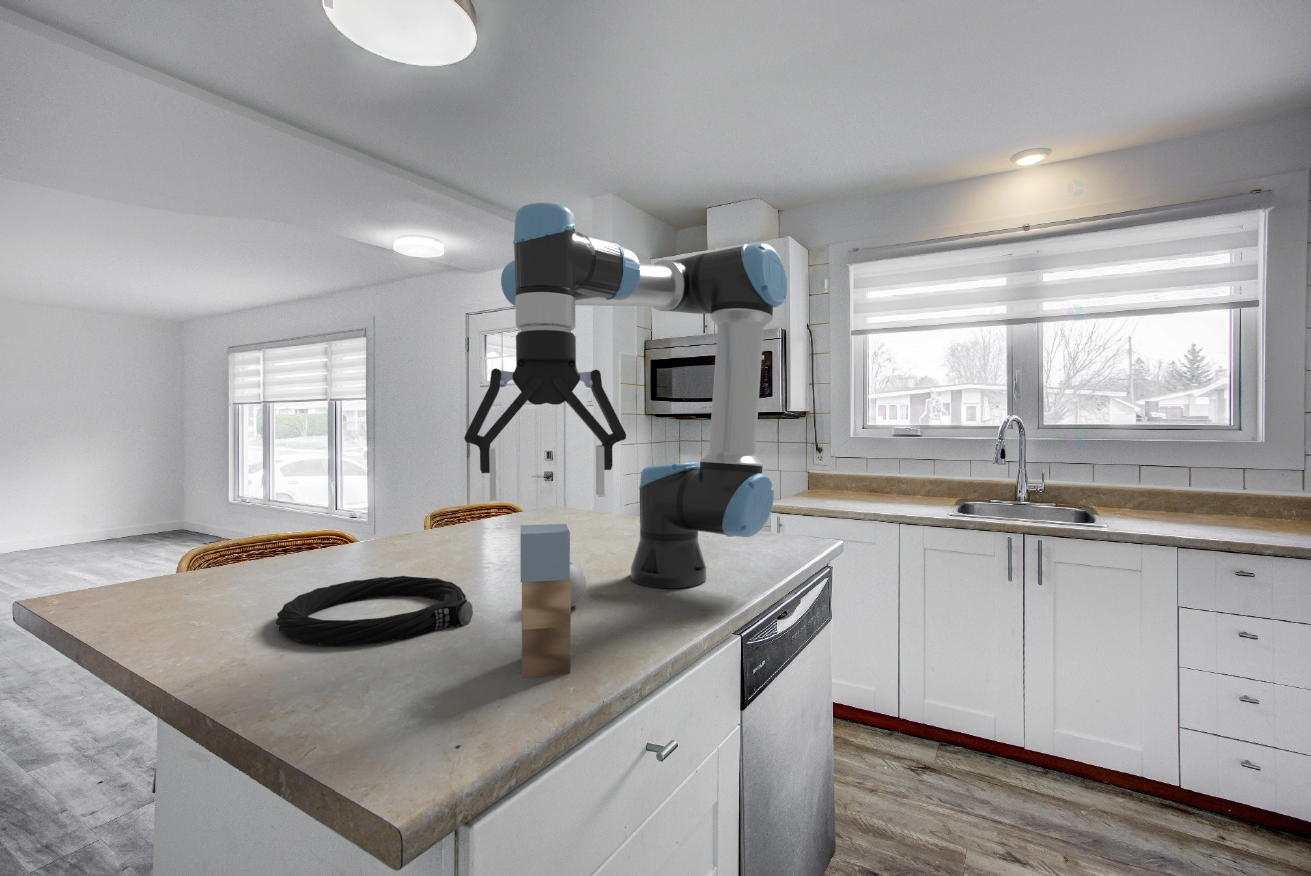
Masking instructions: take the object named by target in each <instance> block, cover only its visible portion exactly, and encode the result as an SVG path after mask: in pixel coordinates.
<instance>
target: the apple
mask: <svg viewBox="0 0 1311 876" xmlns="http://www.w3.org/2000/svg"><path fill="white" fill-rule="evenodd" d="M570 578H571V608H572V607H574V606H575V605H576V604H577V603H579V601H580V600H581V599H582V598H583V596H584V595H585V593H586V589H587V579H586V576H585V575H584V573H583V570H582V569H581V567H579V565H577V564H576V563H573V562H572V561H570Z"/></svg>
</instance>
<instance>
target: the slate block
mask: <svg viewBox="0 0 1311 876" xmlns="http://www.w3.org/2000/svg"><path fill="white" fill-rule="evenodd" d="M570 537H571V533H570V530H569V527H568V525H567V523H553V524H552V523H551V524H549V523H548V524H524V525H523V524H521V525H520V583H522V582H537V581H556V580H570V562H571V561H570V559H571V558H570V557H571V556H570V555H571V554H570V553H571V550H570V549H571V542H570V540H571V538H570Z"/></svg>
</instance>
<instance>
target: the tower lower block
mask: <svg viewBox="0 0 1311 876" xmlns="http://www.w3.org/2000/svg"><path fill="white" fill-rule="evenodd" d="M571 627H572V626H569V627H554V628H540V629H525V630H522V629H521V678H528V677H529V678H530V677H541V676H554V675H566V674H568V675H569V674H571V670H572V669H571V664H572V662H571V660H572V659H571V657H572V655H571V653H572V652H571V651H572V650H571V649H572V648H571V646H572V644H571V641H572V638H571V637H572V635H571V634H572V633H571V631H572V629H571Z"/></svg>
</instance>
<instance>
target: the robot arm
mask: <svg viewBox="0 0 1311 876" xmlns="http://www.w3.org/2000/svg"><path fill="white" fill-rule="evenodd" d="M514 219H515V220H514V230H513V231H514V232H513V234H514V235H513V242H512V243H513V251H514V252H513V253H514V260H512V261H510V262H509V263H507V264H506V265H505V266H504V268H503V270H502V271H501V277H500V285H501V289H502V290H501V291H502V293H503V295H504V297H505V299H506V300H507V301H508V302H509V303H510V304H511V305H513V306H515V327H516V328H517V329H518V330H520V331H519V332H517V334H515V354H516V355H515V359H516V360H515V361H516V365H515V369H514V371H508V370H507V371H506V370H500V369H499V368H493V369H492V370H491V372H490V380H489V387H488V389H487V390H486V393H485V395H484V396H483V398H482V400H481V403H480V404H479V407H478V409H477V411H476V412H475V415H474V416H473V419H472V421H471V423H470V424H469V427H468V429H467V431H466V433H465V434H464V438H463V439H464V441H465V442H466V443H469V444H471V445H474V446H477V447H478V450H479V470H480V472H481V474H489V501H497V498H498V482H497V481H498V476H497V475H498V474H497V473H498V472H497V471H498V469H497V446H491V444H492V442H494V441H495V439H496V438H497V437H498V435H499V434H500V433H501V432H502V431H503V429H504V428H506V427H507V426H508V424H509V423H510V422H511V420H512V419H513V418H514V417H515V416H516V414H517V413H519V411H520V410H521V409H522V407H523V406H524V405H525V404H526V403H527V401H528V402H529V403H531V404H532V405H538V406H539V405H540V406H541V405H544V404H550V405H554V406H556V405H562V404H563V403H565V402H566V403H567V404H568V406H569V407H570V408H571V409H572V410H573V411H574V413H576V415H577V416H578V417H579V418H580V420H582V422H583V423H584V424H585V425H586V427H587V428H589V429H590V431H591V432H592V433H593V435H595V436H596V438H597V439H598V440H599V441H600V442H601V444H599V445H597V444H596V445H595V494H596V496H598V497H600V498H601V497H604V498H605V491H606V490H605V471H611V470H612V468H613V446H614V445H615V444H616V443H619V442H621V441H622V442H623V441H625V440H626V438H627V434H626V431H625V429H624V427H623V425H622V423H621V422H620V419H619V418H618V415H617V413H616V412H615V410H614V407H613V405H612V404H611V402H610V399H609V397H608V395H607V394H606V393H607V392H606V391H605V389H604V387H603V381H602V373H601V372H600V370H599V369H593V370H591V371H583V372H579V370H578V368H577V356H576V355H577V353H576V352H577V350H576V347H577V342H576V341H577V337H576V335H575V334H574V333H572V332H571V331H574V330H575V329H576V326H577V325H576V322H577V321H576V306H589V307H590V306H594V307H595V306H599V307H600V306H602V307H603V306H618V307H620V306H623V307H624V306H625V307H630V306H631V307H633V306H636V307H639V306H641V307H646V306H647V307H652V308H653V309H655V310H657V311H659V312H675V313H676V312H677V313H685V314H696V315H697V314H698V315H708V314H709V315H710V316H709V317H710V319H711V320H712V321H713V322H714V324H715V325H716V326H717V328H716V329H717V332H716V344H715V345H716V347H715V360H714V374H713V387H712V388H713V389H712V390H713V391H712V401H711V402H712V403H711V417H710V418H711V419H710V429H709V430H710V431H709V443H708V444H709V445H708V446H709V447H708V451H707V454H705V455H704V456H703V457H702V458H701V459H700V460H699V463H698V462H697V461H693V462H683V463H682V462H680V463H672V464H662V465H660V464H659V465H651V466H646V467H644V468H643V469H642V471H641V472H640V473H641V474H640V483H639V488H638V489H639V542H638V544H637V548H636V550H635V554H634V557H633V561H632V563H631V566H630V580H632V581H633V582H634V583H636V584H639V585H642V586H646V587H651V588H659V589H680V588H681V589H682V588H687V587H688V588H689V587H694V586H699V585H701V584H704V583H705V582H706V580H707V566H706V562H705V560H704V556H703V553H702V550H701V546H700V543H699V532H702V533H709V534H716V535H723V536H726V537H728V538H732V537H734V538H735V537H737V538H738V537H739V538H740V537H741V538H750V537H753V536H756V535H757V534H758V533H760V531H762V529H763V528H764V526H765V525H766V524H767V522H768V520H769V518H770V515H771V512H772V509H773V504H774V497H775V496H774V488H773V482H772V480H771V478H769V477H768V476H767V475H766V474H764V473H763V464H762V462H761V461H760V460H759V459H758V457H757V455H756V446H757V431H758V420H759V419H758V415H759V402H760V401H759V400H760V387H761V372H762V358H763V355H762V354H763V344H764V343H763V342H764V341H763V340H764V329H765V328H766V326H767V325H769V324H770V323H771V322H772V321H773V314H774V308H777V307H779V306H781V305H782V304H783V303H784V302H785V299H786V297H787V293H788V282H787V281H788V280H787V275H786V274H787V273H786V270H785V268H784V267H785V266H784V264H783V262H782V259H781V257H780V255H779V254H778V252H777V251H776V250H775V249H774V248H773V247H772V246H770V245H769V244H767V243H762V242H761V243H753V244H749V243H747V244H745V243H744V245H742V246H737V247H731V248H726V249H721V250H717V251H715V250H714V251H709V252H704V253H700V254H699V253H698V254H696V255H692V256H688V257H682V258H679V259H673V260H671V259H668V260H667V259H661V260H658V261H656V262H654V263H653V264H652V263H640V261H639V258H638V257H637V255H636V253H634V252H633V251H632V250H630V249H628V248H626V247H623V246H620V245H619V244H618V243H615V242H608V241H606V240H602V239H599V238H595V237H591V236H589V235H585V234H583V233H580V232H577V231H576V228H577V225H576V223H575V222H576V221H575V215H574V213H573V212H572V210H570V209H569V208H568V207H567V206H565V205H562V204H557V203H551V202H535V203H534V202H533V203H532V202H531V203H529V204H525V205H523V206H522V207H520V208H518V210H517V211H516V214H515V217H514ZM509 381H513V383H514V384H515V385H516V387H517V388H518V389H519V391H520V393H519V394H518V395H517V397H515V399H514V400H513V401H512V402H511V404H510V405H509V406H508V407H507V409H506V410H505V411H504V412H502V413H503V414H501V415H500V417H499V418H498V419H497V420H496V421H495V423H494V424H493V425H492V426H491V427H490V428H489V430H488V431H487V432H486V433H485V435H480V434H479V433H480V430H481V429H482V427H483V425H484V422H485V420H486V419H487V416H488V415H489V412H490V410H491V409H492V406H493V405H494V403H495V400H496V398H497V396H498V394H499V392H500V389H501V388H505V387H507V385H508V382H509ZM580 381H581V382H583V383H584V385H585V387H586V388H588V389H591V392H592V395H593V397H594V398H595V401H596V402H597V404H598V407H599V408H600V411H601V413H602V414H603V416H604V418H605V421H606V422H607V424H608V426H609V429H610V430H611V432H612V433H608V432H607V431H606V429H605V428H603V426H602V425H601V424H600V422H599V421H598V420H597V419H596V418H595V417H594V415H593V414H592V413H591V412H590V411H589V410H588V409H587V407H586V406H585V405H584V404H583V402H581V400H580V399H579V397H577V395H576V394H575V393H574V392H573V391H574V390H575V388H576V387H577V386H578V384H579V382H580Z"/></svg>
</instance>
